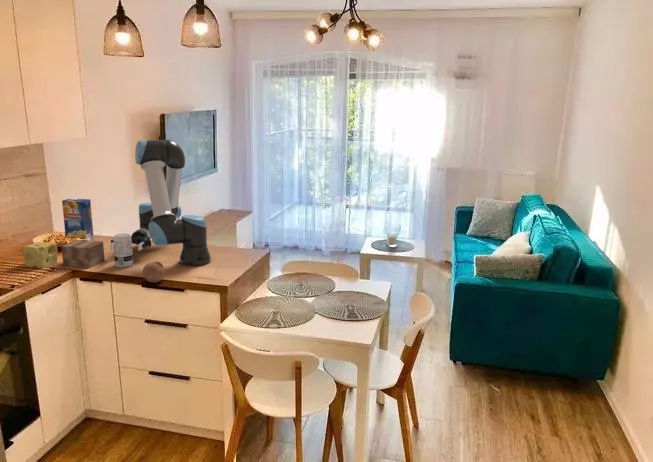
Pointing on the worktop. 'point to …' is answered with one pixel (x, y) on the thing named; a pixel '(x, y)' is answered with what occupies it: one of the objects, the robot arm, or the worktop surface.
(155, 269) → the onion
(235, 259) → the worktop surface
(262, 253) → the worktop surface
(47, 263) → the cheese
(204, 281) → the worktop surface
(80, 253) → the walnut block
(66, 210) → the juice carton
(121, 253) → the supplement can
